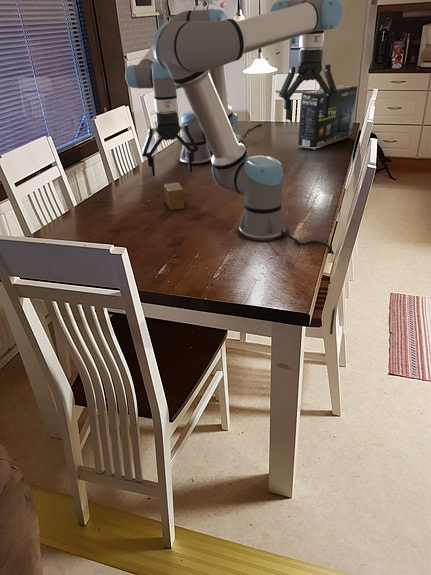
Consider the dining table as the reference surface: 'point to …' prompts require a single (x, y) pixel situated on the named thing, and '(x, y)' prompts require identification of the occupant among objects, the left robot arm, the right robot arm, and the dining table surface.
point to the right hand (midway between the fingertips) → (306, 117)
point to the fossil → (239, 136)
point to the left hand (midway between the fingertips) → (172, 173)
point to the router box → (337, 121)
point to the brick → (174, 196)
